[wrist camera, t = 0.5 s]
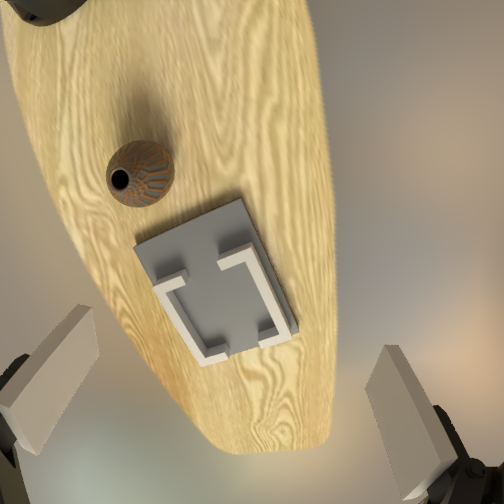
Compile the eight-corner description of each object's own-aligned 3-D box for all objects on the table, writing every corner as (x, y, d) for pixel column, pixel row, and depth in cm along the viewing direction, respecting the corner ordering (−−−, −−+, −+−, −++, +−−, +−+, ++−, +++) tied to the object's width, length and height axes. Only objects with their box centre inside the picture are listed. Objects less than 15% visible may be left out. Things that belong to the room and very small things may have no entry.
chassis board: (136, 244, 36) (126, 253, 33) (241, 196, 34) (239, 202, 31) (202, 358, 41) (198, 372, 38) (298, 327, 39) (301, 341, 36)
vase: (153, 128, 31) (120, 124, 23) (193, 171, 33) (171, 179, 25) (114, 171, 33) (75, 180, 25) (152, 212, 35) (121, 233, 26)
